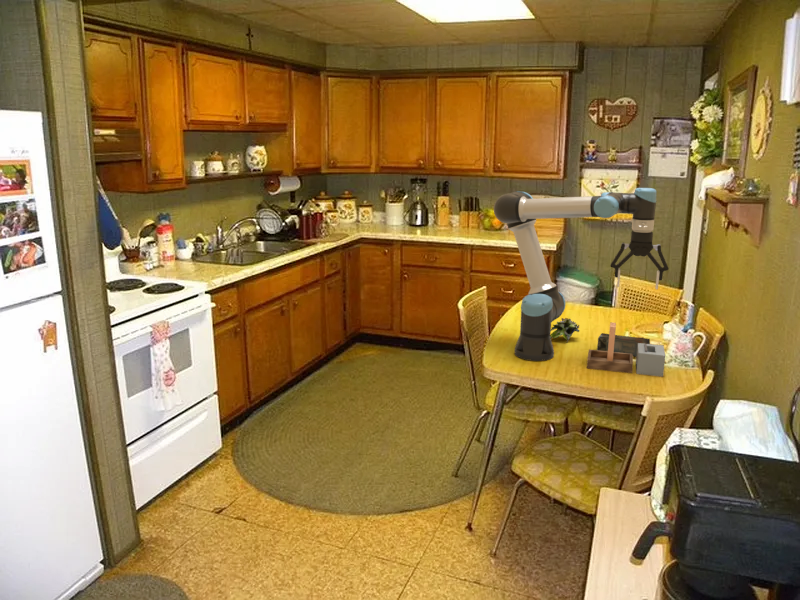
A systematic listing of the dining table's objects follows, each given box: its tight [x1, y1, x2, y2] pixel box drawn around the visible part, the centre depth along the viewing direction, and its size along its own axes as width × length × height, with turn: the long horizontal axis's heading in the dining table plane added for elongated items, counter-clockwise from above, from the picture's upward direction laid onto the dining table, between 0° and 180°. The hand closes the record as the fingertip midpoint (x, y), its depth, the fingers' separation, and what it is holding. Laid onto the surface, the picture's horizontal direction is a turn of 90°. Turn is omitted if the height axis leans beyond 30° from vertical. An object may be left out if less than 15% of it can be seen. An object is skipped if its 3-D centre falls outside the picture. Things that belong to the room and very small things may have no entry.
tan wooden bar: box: [607, 322, 617, 361], centre depth 241 cm, size 2×6×15 cm, turn 162°
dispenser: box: [635, 343, 666, 378], centre depth 238 cm, size 9×12×9 cm
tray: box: [586, 349, 634, 374], centre depth 243 cm, size 16×12×4 cm
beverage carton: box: [596, 332, 651, 357], centre depth 258 cm, size 8×19×7 cm, turn 63°
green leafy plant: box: [550, 317, 580, 343], centre depth 272 cm, size 11×11×12 cm
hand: (637, 287), depth 242 cm, fingers open, 13 cm apart
